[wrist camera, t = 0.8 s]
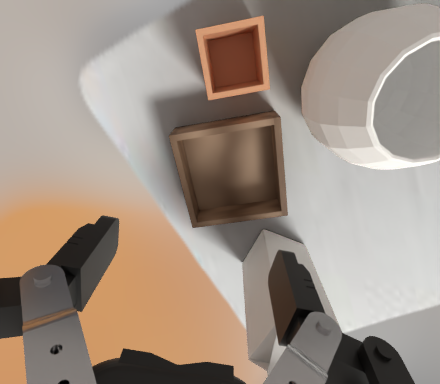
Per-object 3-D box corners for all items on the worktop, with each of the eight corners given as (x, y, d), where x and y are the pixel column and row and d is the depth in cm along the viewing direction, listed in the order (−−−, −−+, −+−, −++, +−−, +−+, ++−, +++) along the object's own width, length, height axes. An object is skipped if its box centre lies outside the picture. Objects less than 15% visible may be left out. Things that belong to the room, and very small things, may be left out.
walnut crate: (274, 110, 31) (280, 116, 28) (281, 200, 36) (287, 215, 33) (175, 127, 32) (168, 135, 29) (196, 212, 38) (192, 227, 34)
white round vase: (270, 116, 32) (296, 150, 20) (337, -9, 26) (430, -69, 14) (362, 161, 34) (437, 217, 22) (441, 54, 28) (600, 48, 16)
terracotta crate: (255, 26, 28) (263, 15, 21) (261, 83, 30) (269, 89, 24) (202, 36, 28) (195, 29, 22) (212, 92, 31) (208, 100, 24)
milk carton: (262, 227, 38) (289, 360, 21) (305, 244, 40) (364, 382, 22) (241, 262, 41) (250, 403, 24) (282, 277, 42) (318, 422, 25)
